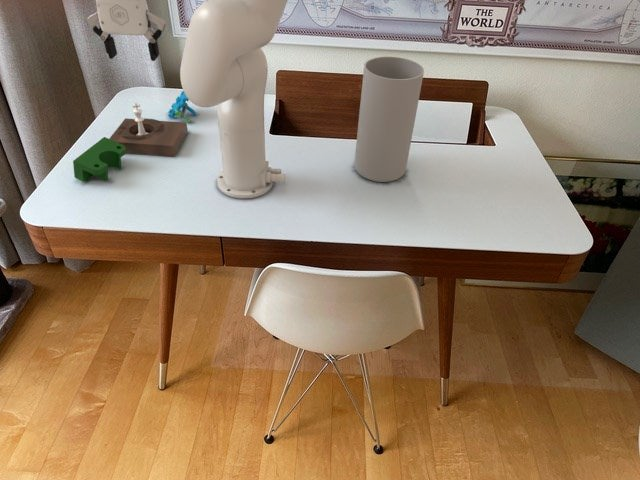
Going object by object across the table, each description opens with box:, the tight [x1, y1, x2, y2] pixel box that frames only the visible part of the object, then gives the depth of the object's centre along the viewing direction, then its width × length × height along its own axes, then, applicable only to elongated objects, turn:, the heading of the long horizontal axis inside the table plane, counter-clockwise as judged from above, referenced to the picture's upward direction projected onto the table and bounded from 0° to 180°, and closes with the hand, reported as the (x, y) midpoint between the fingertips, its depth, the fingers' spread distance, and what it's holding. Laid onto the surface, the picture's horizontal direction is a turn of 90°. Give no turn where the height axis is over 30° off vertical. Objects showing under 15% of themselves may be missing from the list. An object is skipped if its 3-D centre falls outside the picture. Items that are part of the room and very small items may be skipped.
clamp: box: [72, 136, 126, 183], centre depth 111 cm, size 12×6×9 cm
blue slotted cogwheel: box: [167, 90, 197, 123], centre depth 133 cm, size 11×6×10 cm
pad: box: [108, 117, 189, 158], centre depth 123 cm, size 16×13×3 cm
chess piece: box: [131, 102, 148, 135], centre depth 121 cm, size 5×5×10 cm
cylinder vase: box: [353, 56, 425, 183], centre depth 110 cm, size 12×12×25 cm
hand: (134, 57), depth 113 cm, fingers open, 9 cm apart
